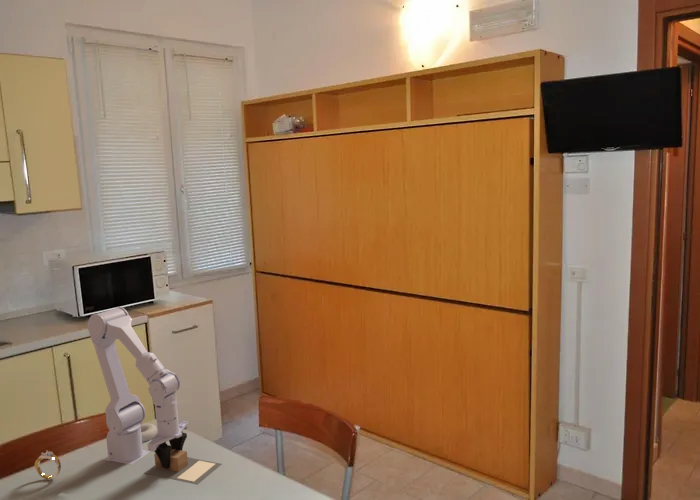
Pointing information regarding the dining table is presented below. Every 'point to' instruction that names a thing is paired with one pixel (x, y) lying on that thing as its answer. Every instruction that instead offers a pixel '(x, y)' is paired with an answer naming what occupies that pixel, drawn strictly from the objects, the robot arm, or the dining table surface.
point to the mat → (187, 471)
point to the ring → (52, 457)
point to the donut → (148, 432)
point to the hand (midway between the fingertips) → (171, 463)
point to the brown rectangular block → (174, 460)
